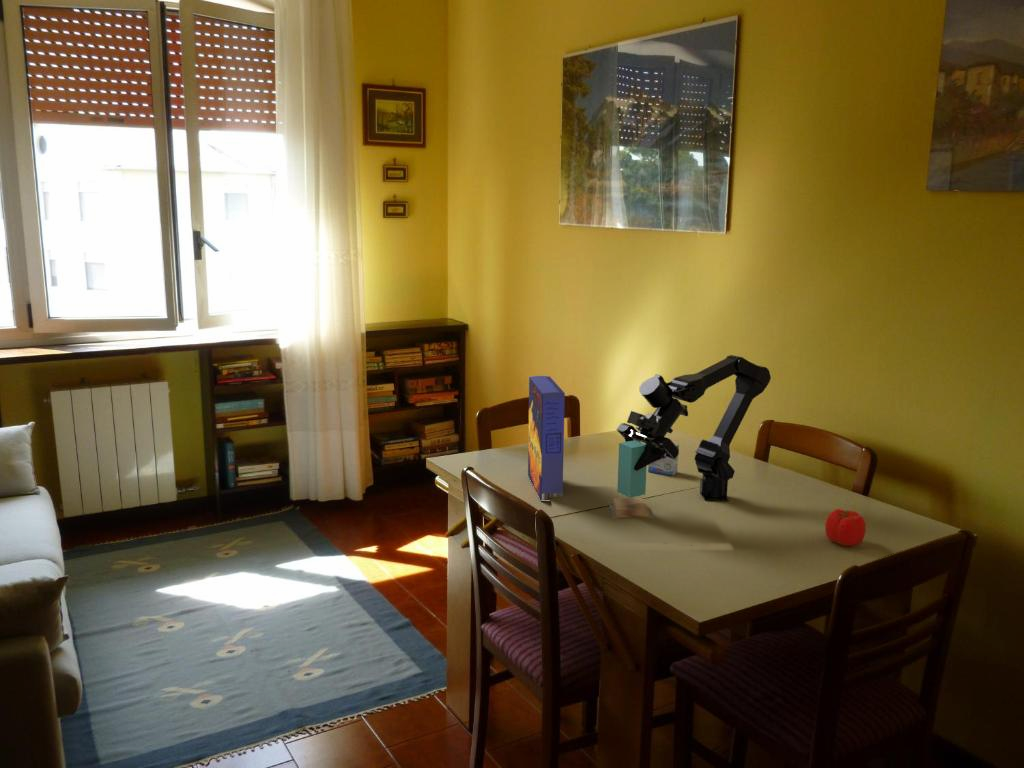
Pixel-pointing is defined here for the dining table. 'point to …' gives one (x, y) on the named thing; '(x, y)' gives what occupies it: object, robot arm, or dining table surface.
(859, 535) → the tomato
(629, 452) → the pillar
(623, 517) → the base slab
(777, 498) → the dining table surface
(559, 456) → the cereal box
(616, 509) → the top slab
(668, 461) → the medicine box
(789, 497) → the dining table surface
